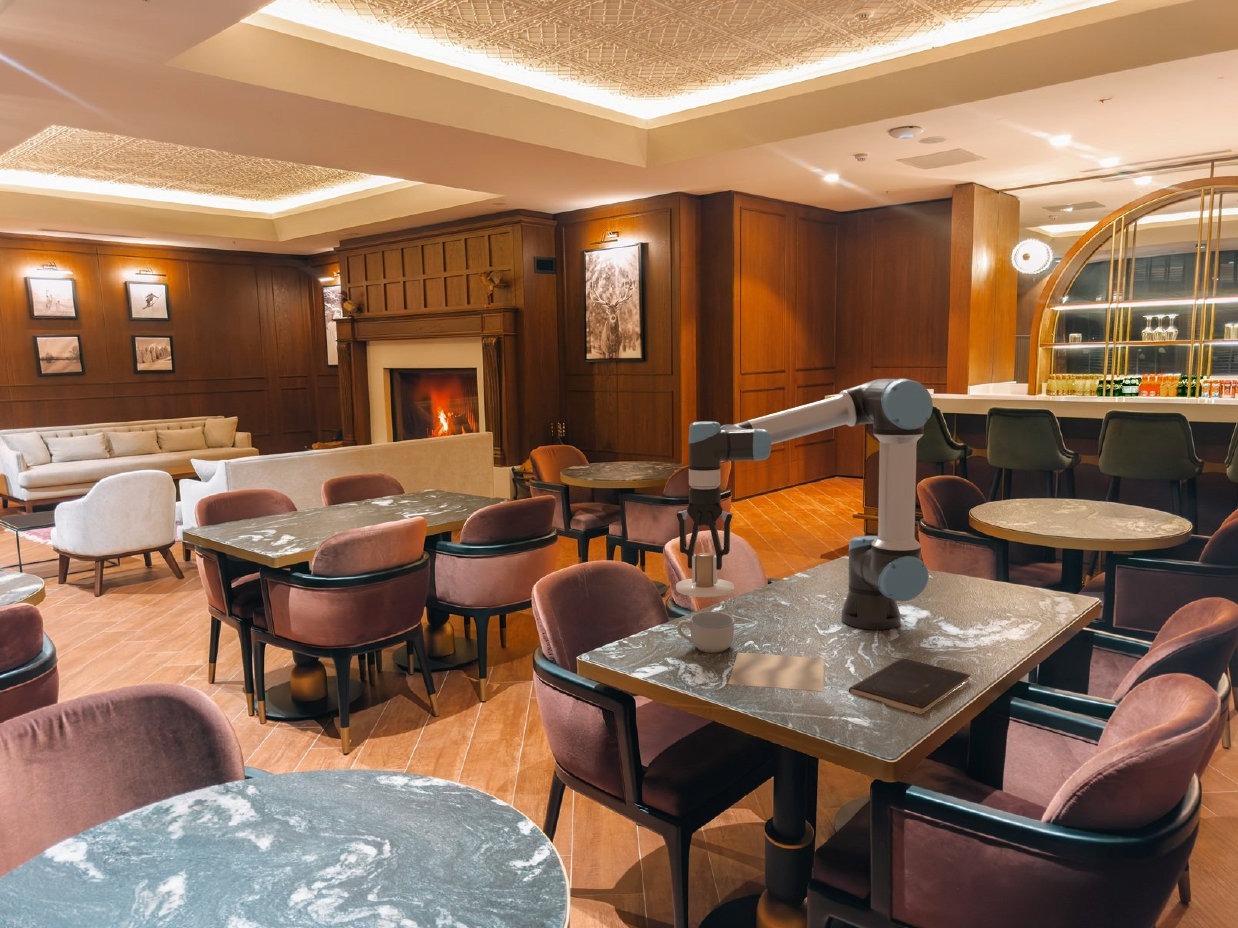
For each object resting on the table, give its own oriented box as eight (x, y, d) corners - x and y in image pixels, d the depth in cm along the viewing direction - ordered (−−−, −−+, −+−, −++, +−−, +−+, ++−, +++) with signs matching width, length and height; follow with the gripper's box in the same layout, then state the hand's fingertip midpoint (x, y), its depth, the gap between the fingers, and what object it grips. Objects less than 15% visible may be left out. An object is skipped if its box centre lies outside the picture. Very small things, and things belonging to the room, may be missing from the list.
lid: (736, 583, 204) (736, 549, 203) (730, 598, 191) (730, 562, 190) (681, 580, 207) (680, 547, 206) (671, 595, 194) (671, 560, 193)
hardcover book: (969, 684, 177) (970, 674, 177) (922, 718, 161) (922, 707, 161) (899, 666, 188) (899, 656, 188) (848, 696, 172) (848, 686, 172)
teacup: (733, 642, 206) (733, 611, 205) (735, 657, 195) (735, 624, 194) (677, 641, 207) (677, 610, 206) (676, 656, 196) (676, 624, 195)
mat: (823, 659, 192) (823, 658, 192) (823, 692, 173) (823, 691, 173) (737, 654, 197) (737, 652, 197) (728, 685, 178) (728, 683, 178)
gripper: (742, 485, 198) (742, 579, 200) (671, 483, 202) (672, 576, 205) (739, 489, 190) (739, 587, 193) (665, 488, 195) (666, 584, 197)
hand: (704, 581), depth 199 cm, fingers closed on lid, 4 cm apart
